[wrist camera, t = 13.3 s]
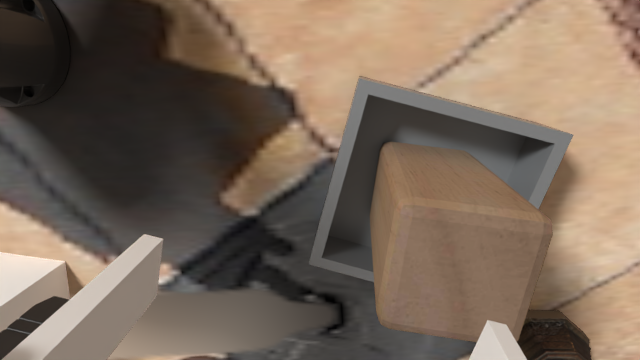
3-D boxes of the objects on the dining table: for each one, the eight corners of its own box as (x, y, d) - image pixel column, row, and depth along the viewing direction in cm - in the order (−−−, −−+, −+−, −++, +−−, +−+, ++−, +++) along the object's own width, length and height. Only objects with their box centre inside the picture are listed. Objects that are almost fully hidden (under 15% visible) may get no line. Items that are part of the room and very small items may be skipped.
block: (471, 149, 42) (564, 221, 23) (452, 231, 45) (520, 355, 26) (380, 138, 42) (398, 200, 23) (368, 219, 45) (374, 332, 26)
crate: (315, 236, 48) (308, 264, 41) (359, 75, 42) (359, 78, 35) (470, 278, 48) (489, 314, 41) (538, 123, 41) (573, 134, 35)
